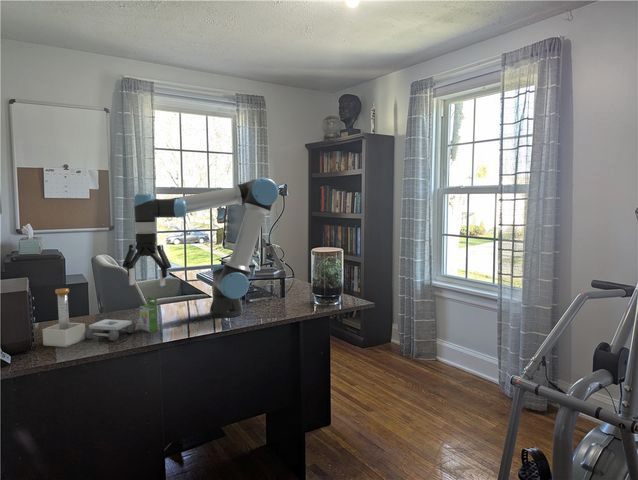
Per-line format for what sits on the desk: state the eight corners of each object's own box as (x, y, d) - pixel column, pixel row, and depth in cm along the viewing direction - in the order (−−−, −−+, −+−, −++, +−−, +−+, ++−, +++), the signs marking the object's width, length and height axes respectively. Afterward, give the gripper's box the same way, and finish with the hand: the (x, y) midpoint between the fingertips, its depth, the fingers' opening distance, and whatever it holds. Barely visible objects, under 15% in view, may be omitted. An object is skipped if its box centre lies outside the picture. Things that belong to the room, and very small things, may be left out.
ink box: (140, 329, 179) (139, 297, 178) (149, 327, 182) (148, 295, 181) (149, 332, 175) (147, 299, 174) (158, 330, 178) (157, 297, 177)
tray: (85, 339, 167) (84, 323, 166) (66, 347, 157) (65, 330, 157) (63, 337, 169) (63, 322, 168) (43, 345, 159) (42, 329, 159)
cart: (135, 331, 176) (135, 319, 176) (112, 342, 163) (112, 328, 162) (109, 329, 179) (108, 317, 178) (84, 340, 165) (84, 327, 165)
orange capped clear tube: (74, 339, 164) (71, 288, 163) (65, 342, 160) (62, 290, 159) (64, 338, 165) (61, 288, 164) (55, 341, 161) (52, 290, 160)
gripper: (178, 232, 176) (180, 284, 178) (123, 231, 181) (125, 282, 183) (168, 233, 169) (170, 288, 171) (111, 232, 174) (114, 285, 176)
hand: (147, 285), depth 177 cm, fingers open, 13 cm apart
